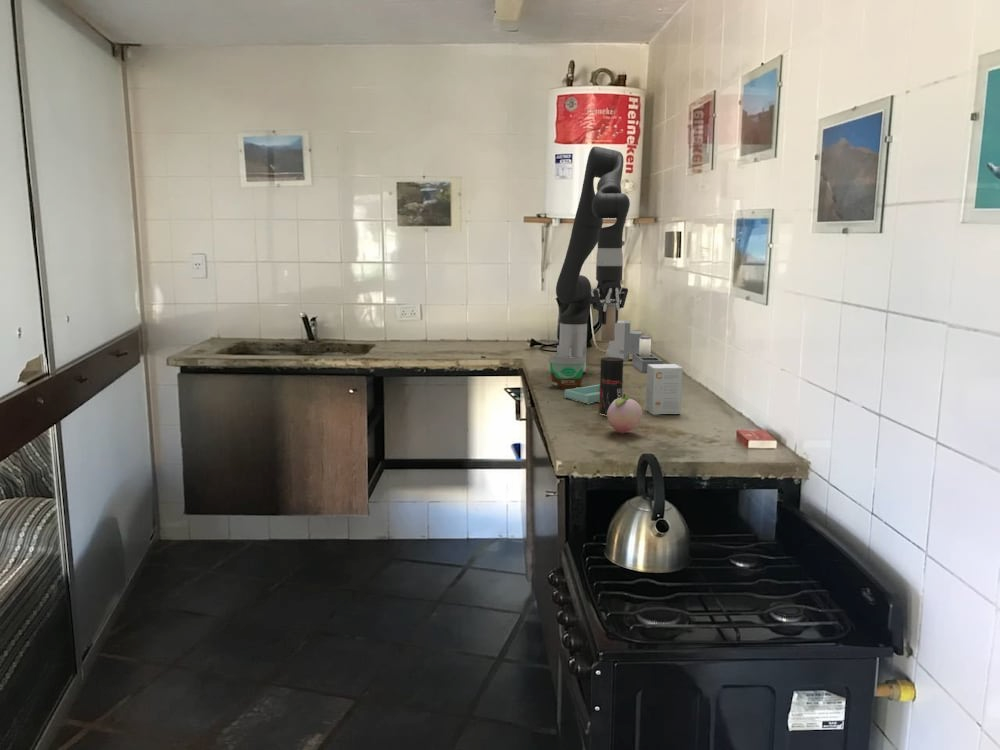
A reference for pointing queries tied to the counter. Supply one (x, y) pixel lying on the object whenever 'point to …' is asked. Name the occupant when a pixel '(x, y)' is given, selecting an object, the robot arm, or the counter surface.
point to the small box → (664, 388)
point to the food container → (566, 371)
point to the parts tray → (585, 394)
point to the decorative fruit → (624, 414)
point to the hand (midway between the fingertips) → (608, 323)
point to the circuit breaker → (624, 341)
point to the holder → (644, 355)
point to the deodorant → (610, 382)
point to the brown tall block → (609, 323)
